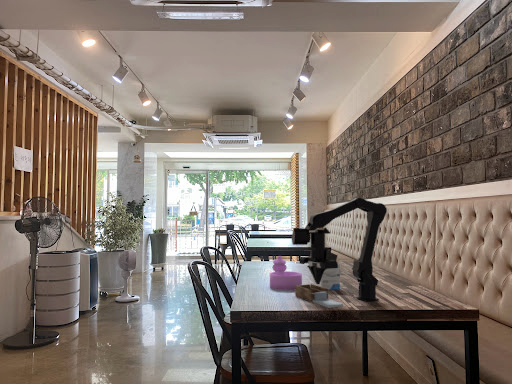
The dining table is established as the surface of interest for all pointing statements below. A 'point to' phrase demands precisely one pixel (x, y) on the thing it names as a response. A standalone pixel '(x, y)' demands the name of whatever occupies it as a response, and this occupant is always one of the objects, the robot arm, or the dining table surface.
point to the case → (308, 291)
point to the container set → (283, 276)
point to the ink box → (331, 279)
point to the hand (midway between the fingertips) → (318, 284)
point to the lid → (325, 300)
